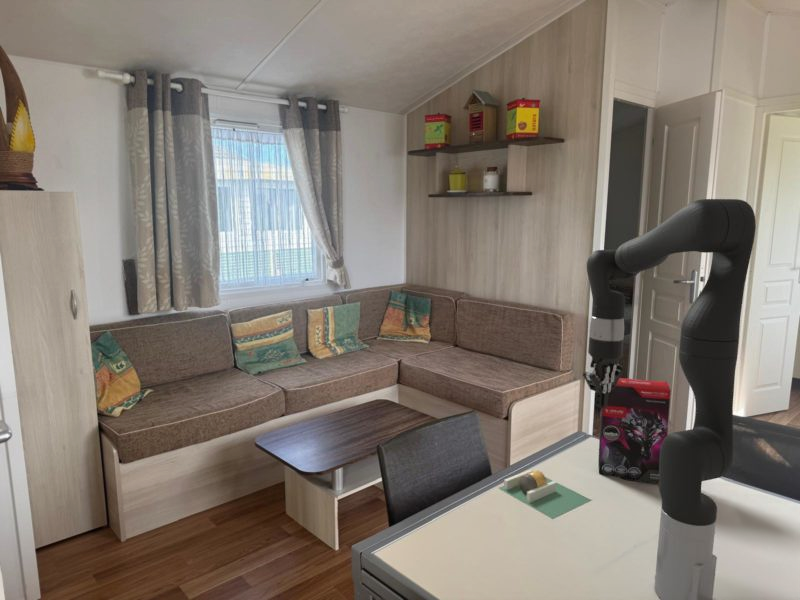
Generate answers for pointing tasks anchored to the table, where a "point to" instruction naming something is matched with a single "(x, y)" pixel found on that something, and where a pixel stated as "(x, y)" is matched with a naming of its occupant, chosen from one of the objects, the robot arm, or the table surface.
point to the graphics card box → (634, 429)
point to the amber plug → (532, 481)
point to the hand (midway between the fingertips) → (601, 406)
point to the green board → (551, 500)
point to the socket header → (531, 494)
